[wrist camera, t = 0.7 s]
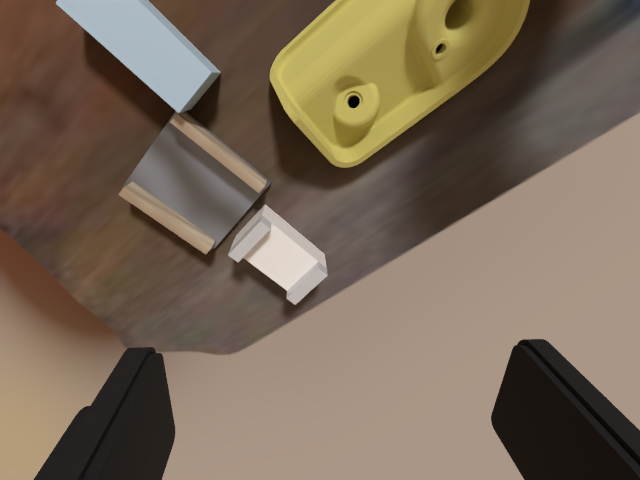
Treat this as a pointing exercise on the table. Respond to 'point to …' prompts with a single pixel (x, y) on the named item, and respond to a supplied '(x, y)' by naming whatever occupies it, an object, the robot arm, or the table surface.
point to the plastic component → (386, 67)
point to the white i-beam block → (280, 254)
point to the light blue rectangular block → (147, 47)
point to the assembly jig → (193, 183)
